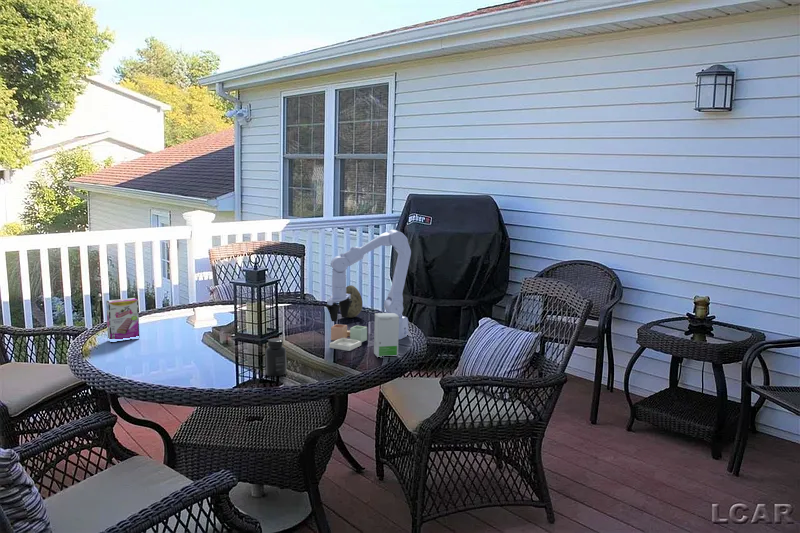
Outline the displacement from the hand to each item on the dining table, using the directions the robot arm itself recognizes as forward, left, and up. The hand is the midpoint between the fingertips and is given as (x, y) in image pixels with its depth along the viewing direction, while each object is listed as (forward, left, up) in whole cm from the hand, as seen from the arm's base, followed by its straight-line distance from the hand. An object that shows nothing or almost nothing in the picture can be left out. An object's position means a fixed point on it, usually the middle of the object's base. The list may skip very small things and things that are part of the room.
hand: (339, 319), depth 265 cm
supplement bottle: (-5, +48, -8) cm, 49 cm away
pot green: (-8, -2, -8) cm, 12 cm away
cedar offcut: (-2, -7, -9) cm, 12 cm away
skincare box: (-27, +10, -8) cm, 30 cm away
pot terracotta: (0, 0, -8) cm, 8 cm away
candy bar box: (+73, +44, -8) cm, 86 cm away
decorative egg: (+15, -34, -8) cm, 38 cm away
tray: (-8, +8, -8) cm, 14 cm away
